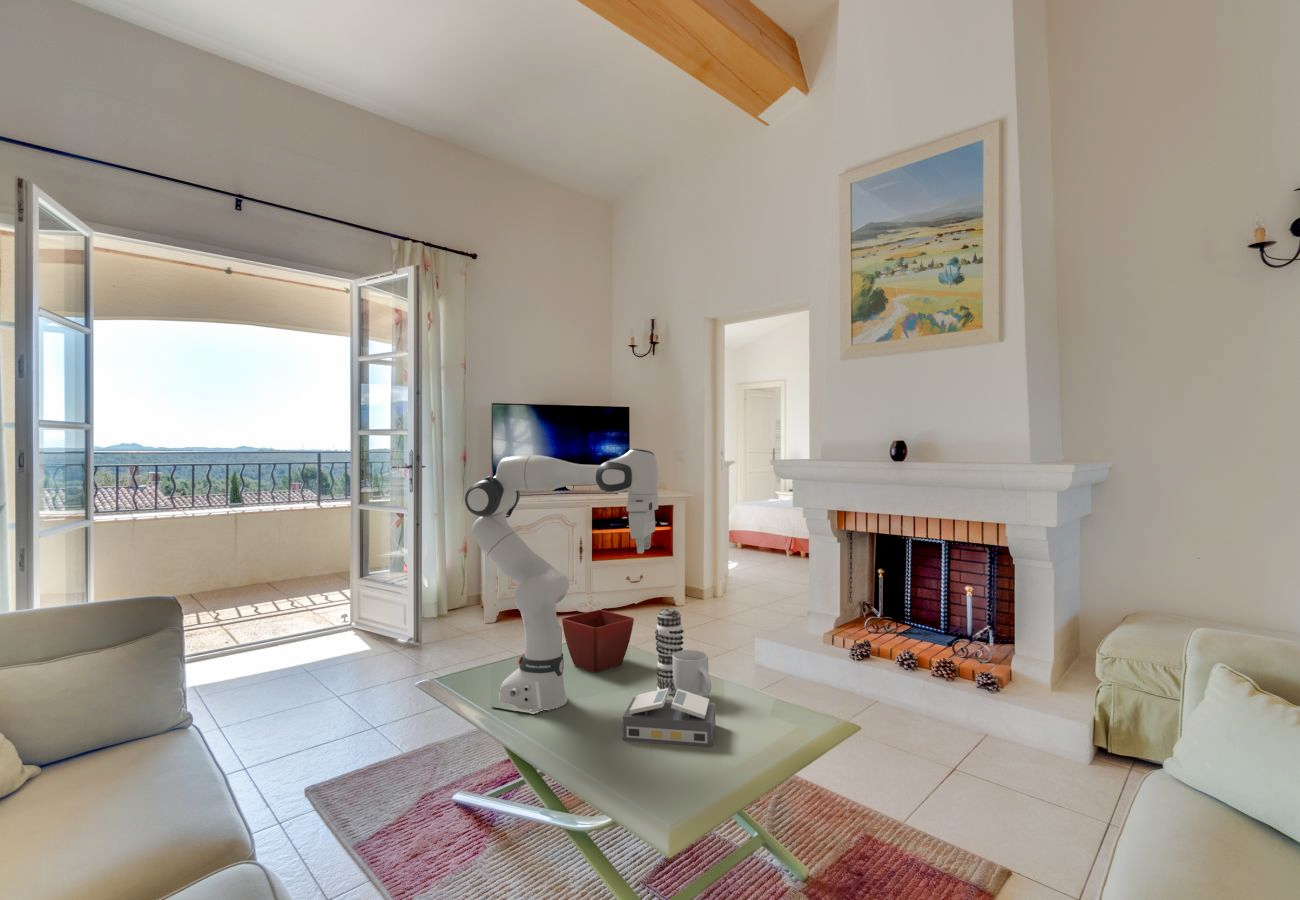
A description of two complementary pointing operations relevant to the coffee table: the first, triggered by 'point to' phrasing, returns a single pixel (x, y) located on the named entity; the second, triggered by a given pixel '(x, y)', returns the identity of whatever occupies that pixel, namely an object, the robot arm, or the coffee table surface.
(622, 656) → the plant pot
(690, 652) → the mug
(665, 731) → the switch console
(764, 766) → the coffee table surface
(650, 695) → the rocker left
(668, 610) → the black and white cylinder
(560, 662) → the robot arm
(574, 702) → the coffee table surface
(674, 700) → the rocker right
